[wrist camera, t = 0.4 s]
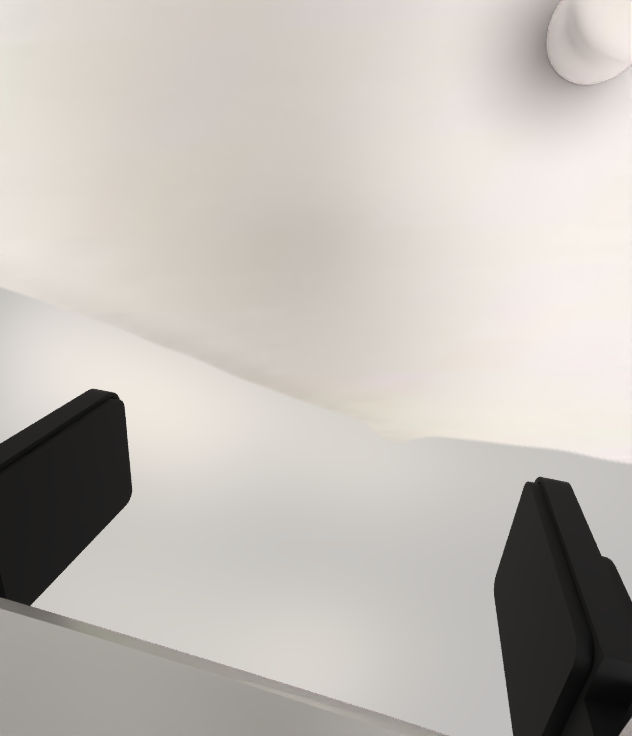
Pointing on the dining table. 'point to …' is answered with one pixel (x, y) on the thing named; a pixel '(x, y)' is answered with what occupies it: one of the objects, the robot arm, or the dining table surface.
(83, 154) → the dining table surface
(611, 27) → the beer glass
